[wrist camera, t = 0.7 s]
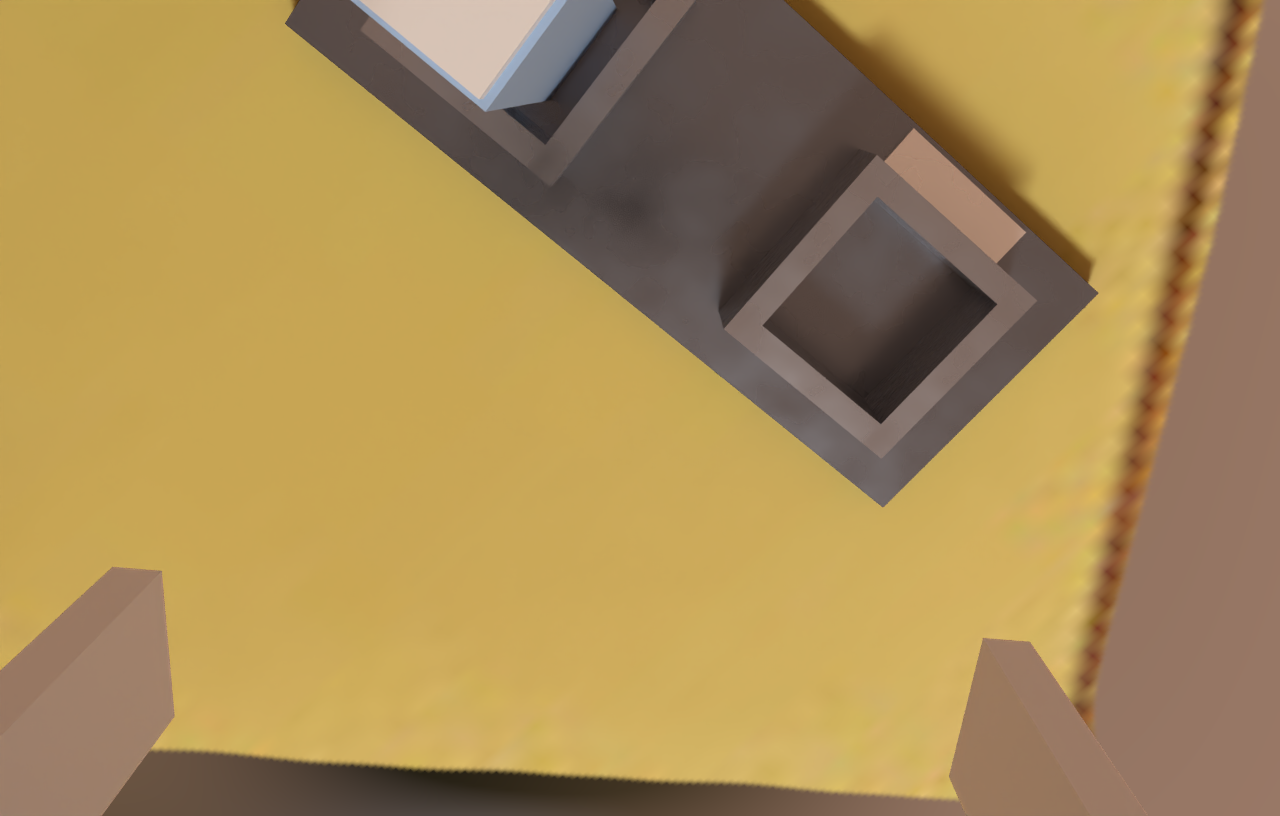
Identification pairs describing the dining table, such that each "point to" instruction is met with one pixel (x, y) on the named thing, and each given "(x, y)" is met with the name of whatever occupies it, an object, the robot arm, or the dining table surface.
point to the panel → (757, 217)
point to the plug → (496, 42)
